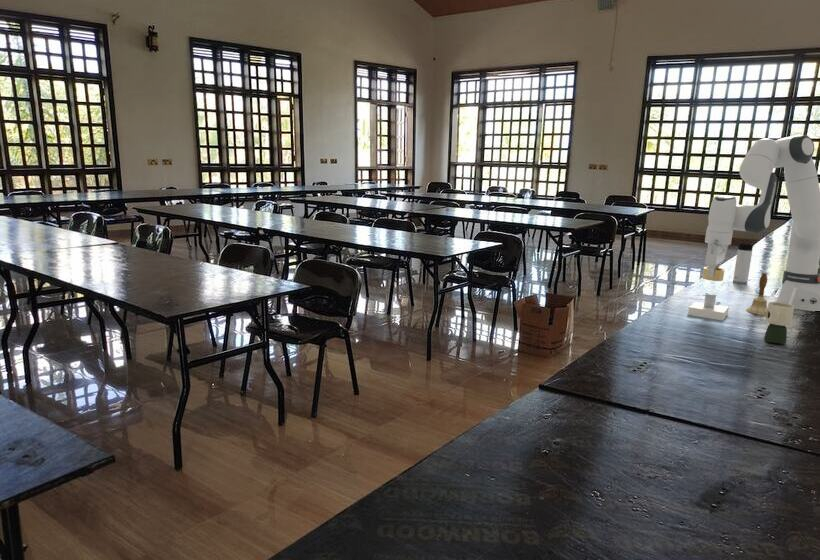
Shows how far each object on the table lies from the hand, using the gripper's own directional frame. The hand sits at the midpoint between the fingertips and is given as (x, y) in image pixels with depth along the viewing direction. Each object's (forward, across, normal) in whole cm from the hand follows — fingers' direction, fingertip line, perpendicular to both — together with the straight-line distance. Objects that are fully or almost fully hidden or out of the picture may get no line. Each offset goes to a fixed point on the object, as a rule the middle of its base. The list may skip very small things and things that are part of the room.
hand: (712, 274), depth 220 cm
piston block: (+15, 0, 0) cm, 16 cm away
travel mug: (+16, +82, -1) cm, 83 cm away
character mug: (+16, -25, -25) cm, 38 cm away
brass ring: (+2, 0, 0) cm, 2 cm away
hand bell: (+16, +19, -15) cm, 29 cm away
